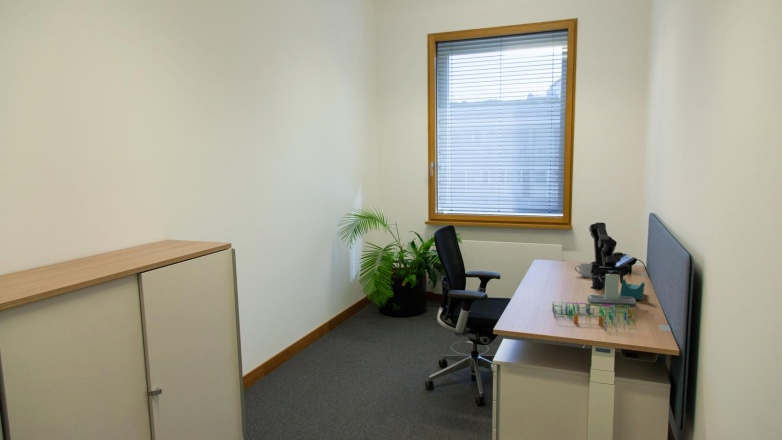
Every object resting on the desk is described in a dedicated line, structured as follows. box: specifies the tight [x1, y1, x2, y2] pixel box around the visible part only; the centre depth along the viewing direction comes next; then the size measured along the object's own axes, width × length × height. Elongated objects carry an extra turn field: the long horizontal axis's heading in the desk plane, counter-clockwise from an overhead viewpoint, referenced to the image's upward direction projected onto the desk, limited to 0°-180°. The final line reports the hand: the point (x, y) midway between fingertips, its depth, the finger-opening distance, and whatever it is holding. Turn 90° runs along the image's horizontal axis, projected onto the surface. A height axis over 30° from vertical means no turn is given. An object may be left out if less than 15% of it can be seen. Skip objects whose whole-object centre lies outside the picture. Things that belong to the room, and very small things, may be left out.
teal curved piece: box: [619, 278, 645, 301], centre depth 271 cm, size 18×11×10 cm, turn 151°
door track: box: [587, 294, 637, 307], centre depth 258 cm, size 22×8×3 cm, turn 78°
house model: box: [551, 301, 636, 333], centre depth 229 cm, size 35×30×5 cm
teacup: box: [573, 262, 594, 279], centre depth 321 cm, size 14×11×8 cm
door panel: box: [604, 273, 620, 299], centre depth 257 cm, size 6×3×14 cm, turn 79°
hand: (611, 282), depth 257 cm, fingers open, 9 cm apart
